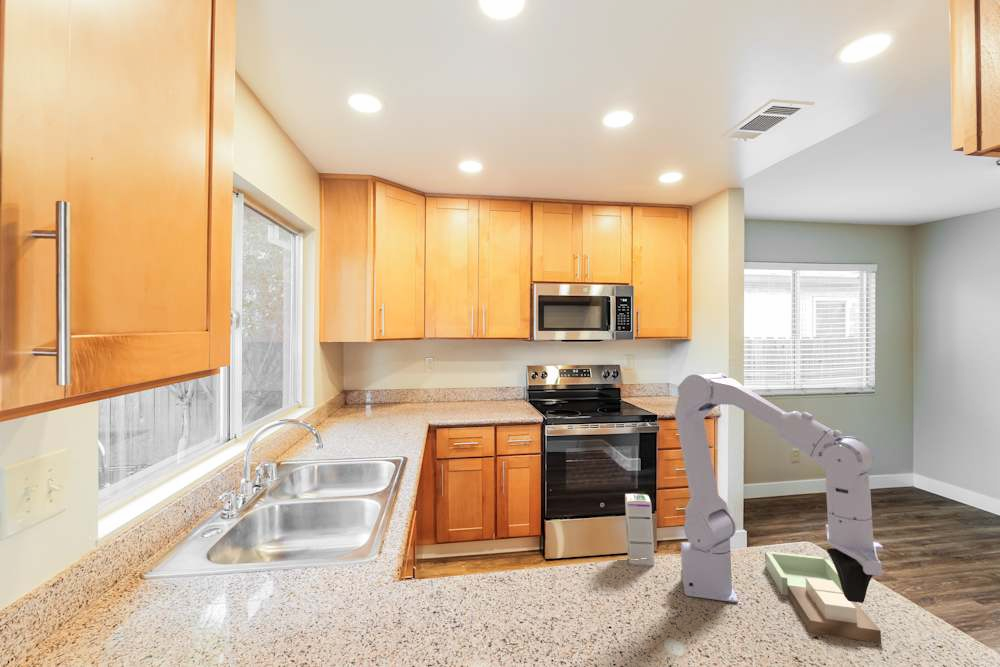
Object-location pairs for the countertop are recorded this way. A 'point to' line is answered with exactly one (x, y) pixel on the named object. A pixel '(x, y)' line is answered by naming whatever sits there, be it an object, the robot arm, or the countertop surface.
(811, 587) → the tile
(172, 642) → the countertop surface
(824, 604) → the tile
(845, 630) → the board
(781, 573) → the tray
